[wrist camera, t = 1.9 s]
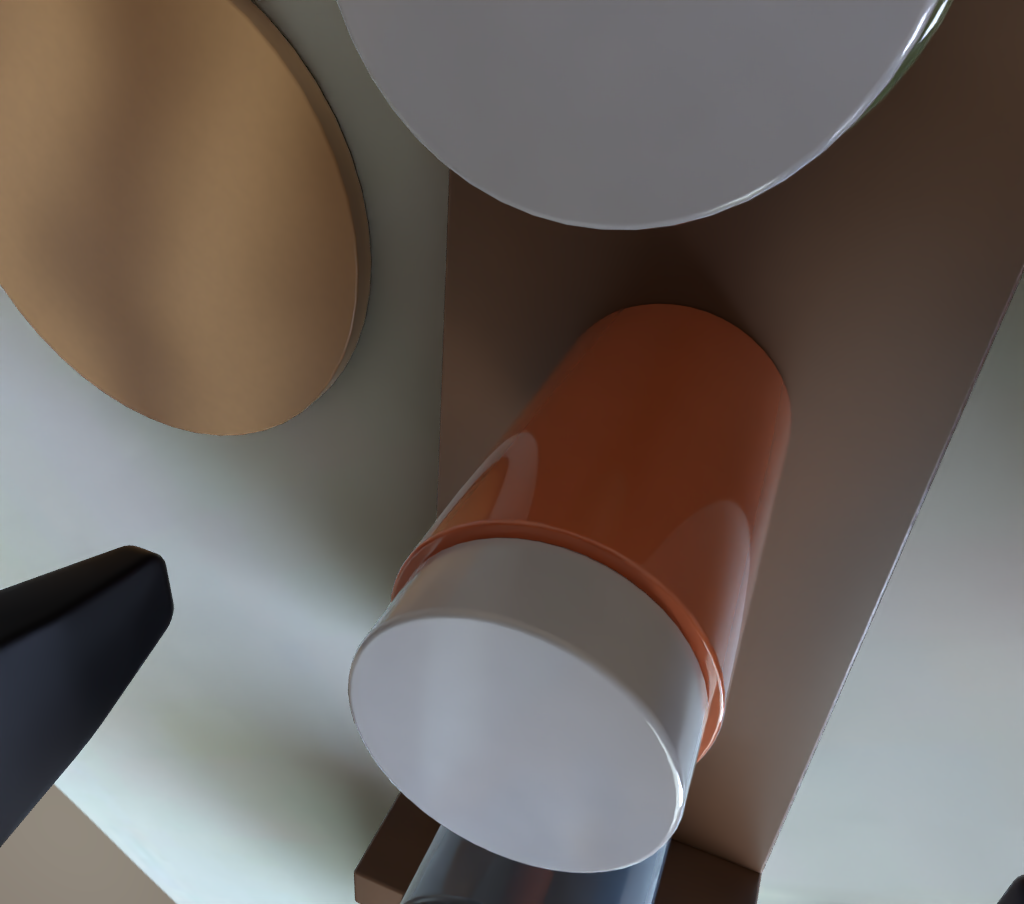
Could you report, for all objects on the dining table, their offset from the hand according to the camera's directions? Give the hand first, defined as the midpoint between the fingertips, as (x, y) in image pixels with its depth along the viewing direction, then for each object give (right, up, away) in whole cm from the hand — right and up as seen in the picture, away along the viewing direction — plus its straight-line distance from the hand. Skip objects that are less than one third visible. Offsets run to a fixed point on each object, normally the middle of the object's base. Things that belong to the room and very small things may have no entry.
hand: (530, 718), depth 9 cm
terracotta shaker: (+2, +3, +5) cm, 7 cm away
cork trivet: (-8, +8, +11) cm, 16 cm away
